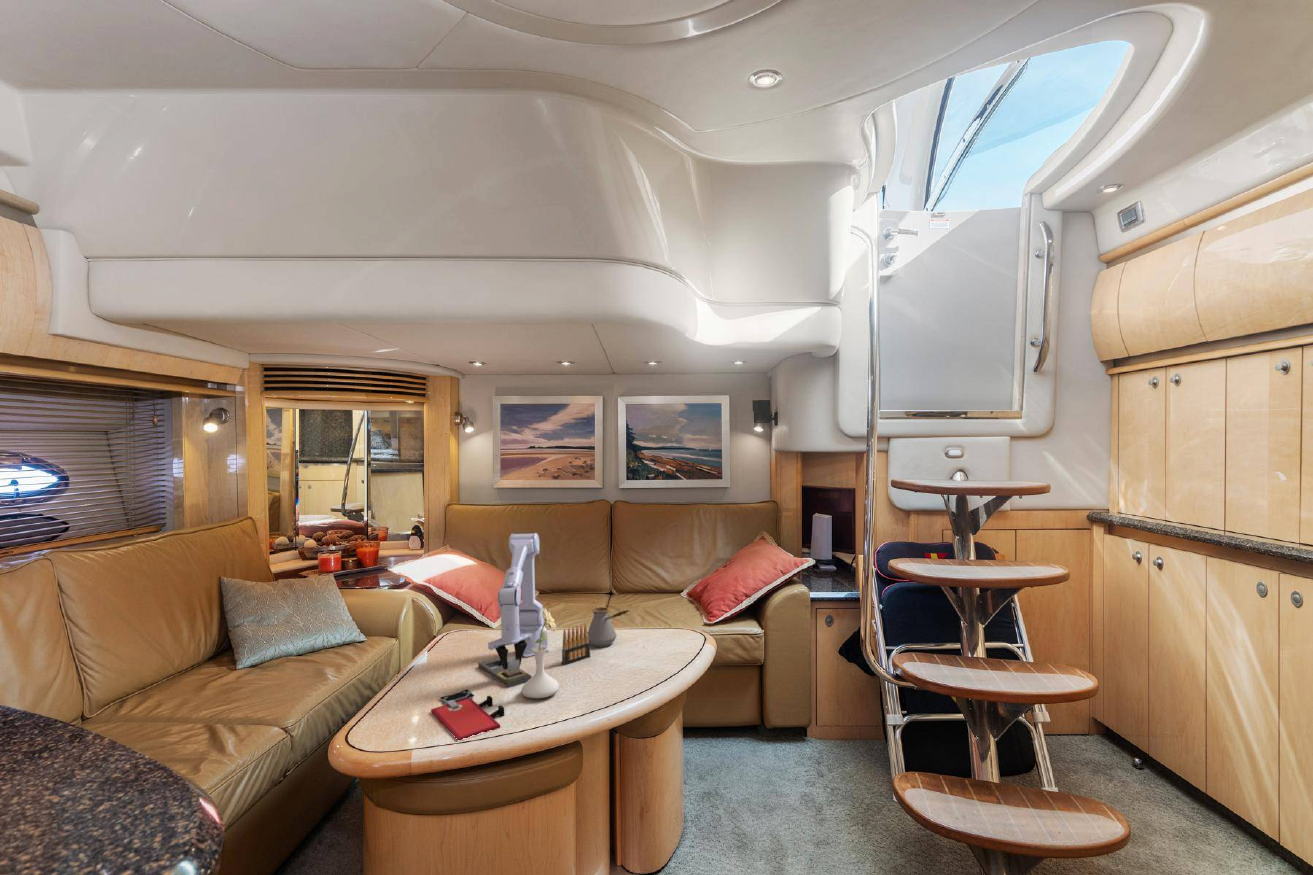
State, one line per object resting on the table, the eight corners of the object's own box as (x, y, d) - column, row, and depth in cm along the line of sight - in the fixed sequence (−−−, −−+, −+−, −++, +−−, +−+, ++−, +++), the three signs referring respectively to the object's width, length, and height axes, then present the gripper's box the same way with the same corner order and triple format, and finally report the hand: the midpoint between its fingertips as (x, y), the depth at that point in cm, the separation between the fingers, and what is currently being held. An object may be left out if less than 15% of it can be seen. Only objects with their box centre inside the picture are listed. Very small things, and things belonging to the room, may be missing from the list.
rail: (500, 661, 210) (500, 656, 211) (531, 680, 192) (531, 675, 192) (478, 667, 206) (478, 662, 206) (508, 687, 187) (508, 682, 187)
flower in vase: (547, 704, 174) (544, 617, 174) (513, 699, 178) (511, 615, 178) (569, 686, 186) (566, 605, 186) (537, 682, 190) (534, 603, 190)
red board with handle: (473, 690, 186) (423, 705, 177) (472, 681, 186) (423, 695, 177) (513, 725, 162) (458, 744, 153) (513, 715, 162) (457, 733, 153)
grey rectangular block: (514, 674, 197) (514, 655, 197) (519, 677, 194) (519, 659, 194) (503, 677, 195) (502, 658, 195) (508, 681, 191) (507, 662, 191)
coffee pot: (579, 644, 225) (578, 604, 226) (602, 636, 234) (601, 598, 234) (619, 656, 211) (617, 614, 211) (641, 648, 219) (640, 606, 220)
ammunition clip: (587, 655, 213) (586, 622, 213) (590, 657, 212) (589, 623, 212) (561, 664, 206) (560, 629, 206) (565, 665, 204) (563, 630, 205)
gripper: (493, 632, 187) (495, 676, 186) (536, 622, 196) (537, 664, 195) (484, 627, 192) (486, 670, 192) (526, 618, 201) (527, 658, 201)
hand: (511, 666), depth 194 cm, fingers closed on grey rectangular block, 4 cm apart
